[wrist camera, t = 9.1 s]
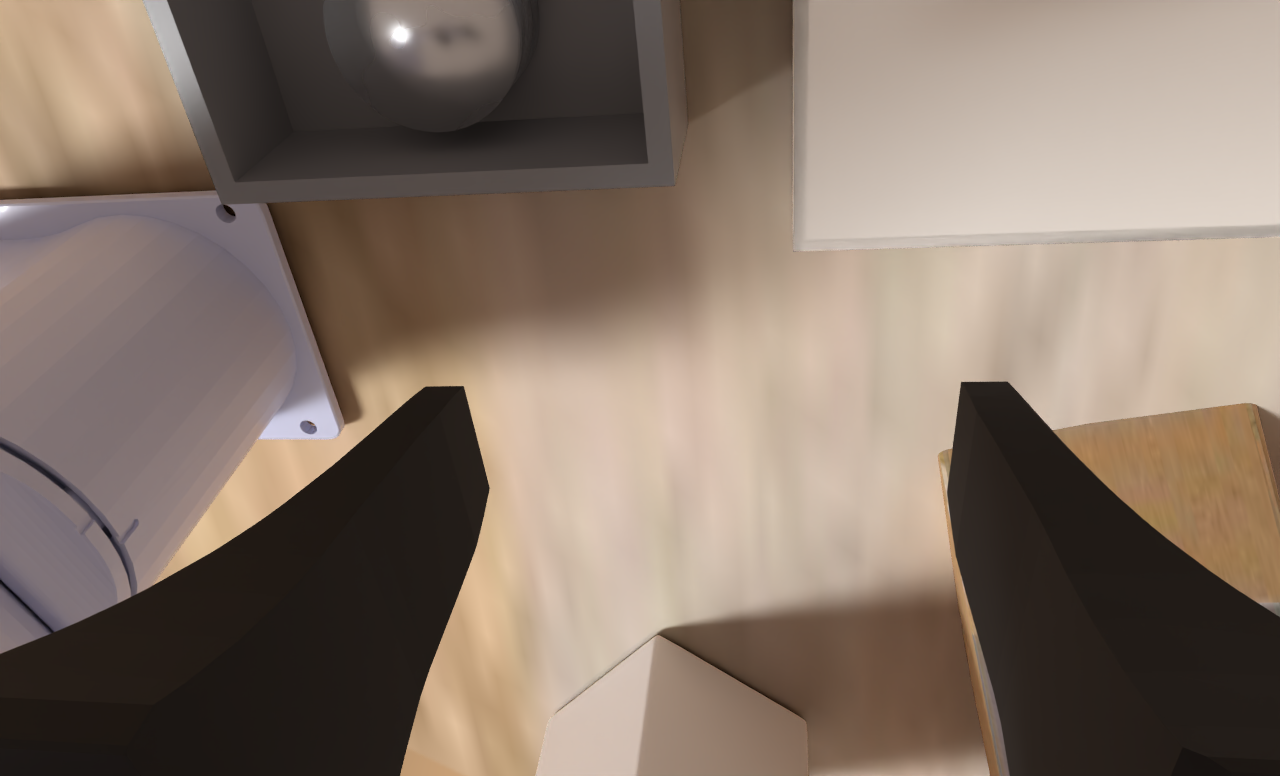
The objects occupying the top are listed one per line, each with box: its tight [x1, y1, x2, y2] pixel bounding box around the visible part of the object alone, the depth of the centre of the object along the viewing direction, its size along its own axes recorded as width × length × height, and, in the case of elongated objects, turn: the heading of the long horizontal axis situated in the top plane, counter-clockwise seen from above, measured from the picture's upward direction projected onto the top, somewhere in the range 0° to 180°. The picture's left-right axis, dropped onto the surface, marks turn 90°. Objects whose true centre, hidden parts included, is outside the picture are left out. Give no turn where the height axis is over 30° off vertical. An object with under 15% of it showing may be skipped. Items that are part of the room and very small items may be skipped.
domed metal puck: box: [323, 0, 539, 132], centre depth 19 cm, size 4×4×2 cm
